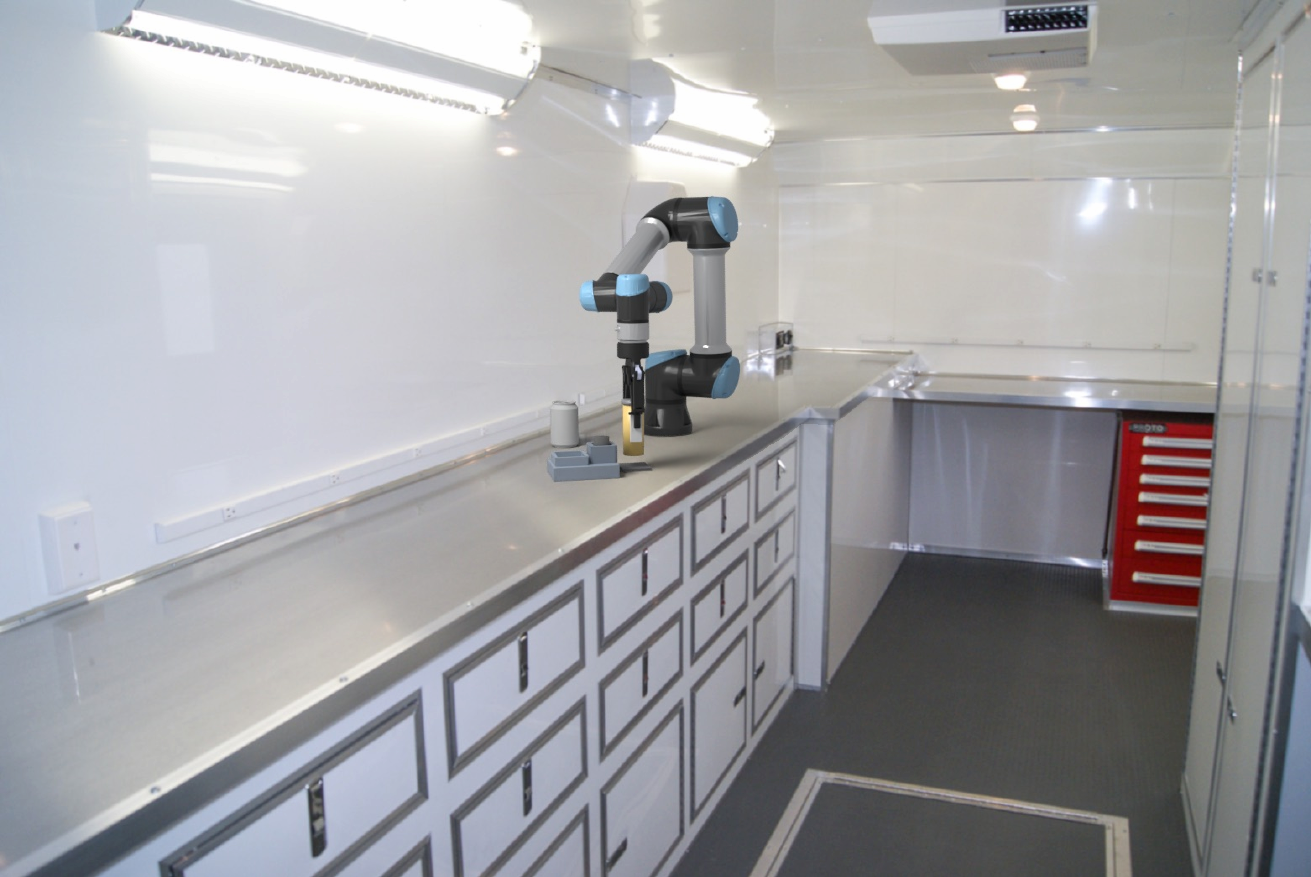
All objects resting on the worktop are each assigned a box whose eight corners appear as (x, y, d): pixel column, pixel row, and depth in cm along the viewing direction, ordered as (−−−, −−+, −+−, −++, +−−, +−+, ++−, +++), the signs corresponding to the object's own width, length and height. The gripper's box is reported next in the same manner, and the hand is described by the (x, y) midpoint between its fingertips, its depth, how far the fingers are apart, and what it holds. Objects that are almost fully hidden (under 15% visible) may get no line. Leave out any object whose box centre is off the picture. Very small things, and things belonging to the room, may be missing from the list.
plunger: (607, 456, 241) (607, 435, 241) (611, 459, 238) (610, 437, 237) (592, 457, 241) (592, 435, 240) (595, 460, 237) (595, 438, 236)
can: (581, 443, 277) (580, 399, 275) (576, 448, 270) (575, 403, 267) (553, 443, 278) (552, 398, 275) (548, 448, 270) (547, 403, 268)
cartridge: (642, 451, 248) (641, 397, 246) (647, 455, 243) (647, 400, 241) (620, 452, 247) (619, 398, 245) (624, 456, 242) (624, 401, 240)
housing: (610, 467, 246) (610, 439, 245) (620, 477, 235) (619, 447, 234) (547, 471, 242) (546, 442, 241) (554, 481, 232) (553, 451, 231)
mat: (644, 464, 250) (644, 461, 250) (651, 470, 243) (651, 467, 243) (616, 465, 248) (616, 463, 248) (622, 471, 242) (622, 469, 242)
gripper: (609, 338, 248) (610, 433, 252) (625, 344, 231) (626, 447, 235) (639, 337, 250) (640, 432, 254) (658, 344, 233) (658, 445, 237)
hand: (633, 439), depth 244 cm, fingers closed on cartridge, 5 cm apart
